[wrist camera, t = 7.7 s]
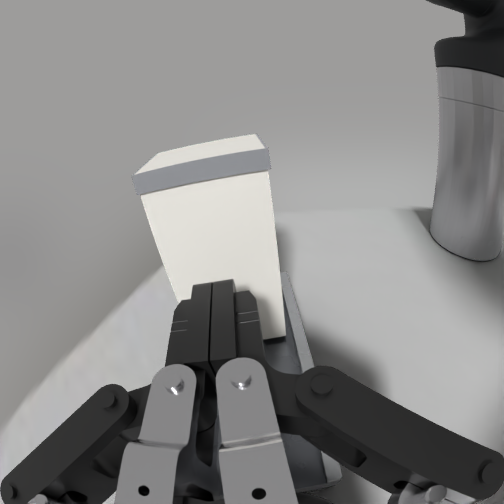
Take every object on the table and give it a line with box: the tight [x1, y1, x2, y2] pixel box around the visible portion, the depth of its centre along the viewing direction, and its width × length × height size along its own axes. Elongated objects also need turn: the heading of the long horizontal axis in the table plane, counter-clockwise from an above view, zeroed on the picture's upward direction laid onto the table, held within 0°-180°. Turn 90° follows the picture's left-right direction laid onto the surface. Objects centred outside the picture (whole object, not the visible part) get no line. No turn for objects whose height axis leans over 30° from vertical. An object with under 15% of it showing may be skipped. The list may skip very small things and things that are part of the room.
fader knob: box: [132, 134, 286, 339], centre depth 14 cm, size 4×5×10 cm
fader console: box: [217, 271, 342, 500], centre depth 14 cm, size 14×7×3 cm, turn 4°
